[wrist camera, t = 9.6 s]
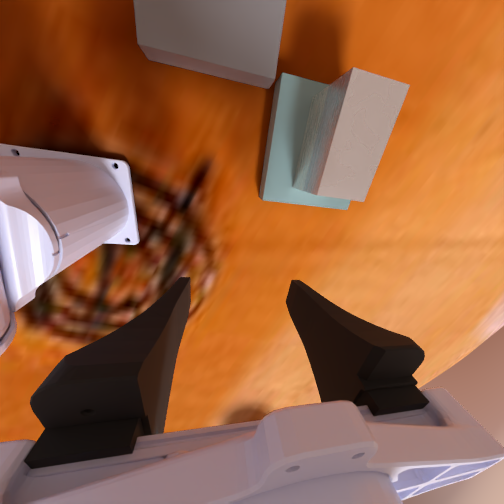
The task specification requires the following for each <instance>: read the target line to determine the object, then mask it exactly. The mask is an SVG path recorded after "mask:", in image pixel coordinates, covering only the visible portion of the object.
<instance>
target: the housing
mask: <svg viewBox="0 0 504 504" xmlns="http://www.w3.org/2000/svg"><path fill="white" fill-rule="evenodd" d="M409 86H410V85H408V84H405V83H402V82H398V81H395V80H392V79H389V78H386V77H383V76H379V75H376V74H373V73H370V72H367V71H364V70H360V69H357V68H354V67H353V68H352V69H350V70H349V71H348V72H346V73H345V74H344V75H342V76H341V77H340V78H338V79H337V80H336V81H334V82H333V83H331V84H330V85H329V86H327V87H326V88H325V89H323V90H322V91H321V92H319V93H318V94H317V95H315V96H314V97H313V98H312V103H311V107H310V111H309V116H308V120H307V125H306V129H305V134H304V138H303V142H302V147H301V151H300V156H299V160H298V165H297V169H296V174H295V178H294V182H293V187H292V188H295V189H298V190H302V191H305V192H308V193H311V194H314V195H319V196H326V197H333V198H340V199H347V200H354V201H361V202H364V200H365V197H366V195H367V192H368V190H369V187H370V185H371V182H372V180H373V177H374V175H375V172H376V170H377V167H378V165H379V162H380V160H381V157H382V155H383V152H384V149H385V147H386V144H387V142H388V139H389V137H390V134H391V132H392V129H393V127H394V124H395V122H396V119H397V117H398V114H399V112H400V109H401V107H402V104H403V101H404V99H405V96H406V94H407V91H408V89H409Z"/></svg>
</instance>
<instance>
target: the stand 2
mask: <svg viewBox="0 0 504 504" xmlns="http://www.w3.org/2000/svg"><path fill="white" fill-rule="evenodd" d="M327 86H329V85H328V84H324V83H320V82H316V81H313V80H309V79H305V78H302V77H298V76H294V75H290V74H287V73H283V72H282V74H281V75H280V77H279V78H278V80H277V81H276V83H275V89H274V96H273V103H272V110H271V117H270V124H269V130H268V137H267V144H266V151H265V158H264V165H263V172H262V179H261V186H260V192H259V198H261V199H262V200H265V201H274V202H283V203H291V204H300V205H309V206H317V207H326V208H335V209H344V210H347V209H348V206H349V204H350V201H351V200H347V199H340V198H333V197H326V196H319V195H314V194H311V193H308V192H305V191H302V190H298V189H295V188H292V187H293V182H294V178H295V174H296V169H297V165H298V160H299V156H300V151H301V147H302V142H303V138H304V134H305V129H306V125H307V120H308V116H309V111H310V107H311V103H312V98H313V97H314V96H315V95H317V94H318V93H319V92H321V91H322V90H323V89H325V88H326V87H327Z"/></svg>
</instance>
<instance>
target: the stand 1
mask: <svg viewBox="0 0 504 504" xmlns="http://www.w3.org/2000/svg"><path fill="white" fill-rule="evenodd" d="M133 1H134V11H135V21H136V32H137V42H138V45H139V46H140V48H141V49H142V51H143V52H144V54H145V55H146V57H147V58H148V60H151V61H155V62H160V63H164V64H168V65H172V66H176V67H180V68H184V69H188V70H192V71H196V72H200V73H204V74H208V75H213V76H217V77H221V78H225V79H229V80H233V81H237V82H241V83H245V84H249V85H253V86H257V87H262V88H266V89H269V88H270V87H271V85H272V83H273V82H274V80H275V76H276V69H277V62H278V55H279V48H280V41H281V34H282V27H283V21H284V14H285V7H286V0H133Z"/></svg>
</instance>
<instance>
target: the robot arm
mask: <svg viewBox="0 0 504 504" xmlns="http://www.w3.org/2000/svg"><path fill="white" fill-rule="evenodd" d="M16 150H17V151H18V152H19V154H20V155H18V154H17V153H16ZM114 163H117V164H118V169H116V168H115V167H114ZM126 238H129V239H130V241H128V240H127V239H126ZM139 240H140V239H139V232H138V225H137V218H136V211H135V203H134V196H133V189H132V182H131V175H130V167H129V165H128V163H127V162H125V161H122V160H115V159H108V158H101V157H94V156H86V155H79V154H72V153H65V152H58V151H50V150H43V149H36V148H29V147H22V146H14V145H7V144H0V355H1V354H2V353H3V352H4V351H5V350H6V349H7V347H8V346H9V345H10V343H11V342H12V340H13V338H14V336H15V333H16V328H17V323H16V319H15V315H14V313H13V312H15V311H17V310H18V309H20V308H21V307H22V306H24V305H25V304H27V303H28V302H29V301H31V300H32V299H34V298H35V291H36V289H37V288H38V287H39V286H40V285H41V284H42V283H44V282H45V281H47V280H48V279H50V278H51V277H53V276H54V275H56V274H58V273H59V272H61V271H62V270H64V269H65V268H67V267H68V266H70V265H71V264H73V263H74V262H76V261H77V260H79V259H80V258H82V257H83V256H85V255H86V254H88V253H89V252H91V251H92V250H94V249H95V248H97V247H98V246H100V245H101V244H103V243H111V244H129V245H136V244H137V243H139ZM190 302H191V298H190V277H180V278H179V279H178V280H177V281H176V282H175V284H174V285H173V286H172V287H171V288H170V289H169V290H168V291H167V292H166V293H165V294H164V295H163V296H162V297H161V298H160V299H158V300H157V301H156V302H155V303H154V304H153V305H152V306H150V307H149V308H148V309H147V310H146V311H144V312H143V313H142V314H140V315H139V316H138V317H136V318H135V319H133V320H131V321H130V322H128V323H127V324H125V325H124V326H122V327H121V328H119V329H117V330H116V331H114V332H112V333H110V334H108V335H107V336H105V337H103V338H101V339H99V340H97V341H95V342H93V343H91V344H89V345H87V346H85V347H83V348H81V349H79V350H77V351H75V352H72V353H70V354H68V355H66V356H65V357H64V358H63V359H62V360H61V361H60V362H59V363H58V365H57V366H56V367H55V368H54V369H53V370H52V372H51V373H50V374H49V375H48V377H47V378H46V379H45V380H44V382H43V383H42V384H41V385H40V387H39V388H38V389H37V390H36V391H35V393H34V394H33V395H32V396H31V400H30V405H31V408H32V410H33V412H34V413H35V415H36V416H37V418H38V419H39V420H40V422H41V423H42V425H43V426H44V427H45V430H44V431H43V433H42V434H41V436H40V437H39V439H38V440H37V442H36V441H33V440H16V441H8V442H0V504H403V502H402V501H401V500H404V499H407V498H410V497H413V496H416V495H419V494H421V493H424V492H427V491H430V490H433V489H436V488H439V487H442V486H446V485H449V484H452V483H455V482H459V481H462V480H466V479H470V478H472V477H473V476H475V475H477V474H479V473H480V472H482V471H484V470H486V469H487V468H489V467H491V466H492V465H494V464H496V463H498V462H499V461H501V460H503V459H504V447H503V446H502V445H501V444H500V443H499V442H498V441H497V440H496V439H495V438H494V437H493V436H492V435H491V434H490V433H489V432H488V431H487V430H486V429H485V428H484V427H483V426H482V425H481V424H480V423H479V422H478V421H477V420H476V419H475V418H474V417H473V416H472V415H471V414H470V413H469V412H468V411H467V410H466V409H465V408H464V407H463V406H462V405H461V404H460V403H459V402H458V401H457V400H456V399H454V397H453V396H452V395H451V394H450V393H449V392H448V391H447V390H446V389H445V388H443V387H436V388H428V389H424V390H422V391H420V390H419V389H418V388H417V387H416V386H415V385H416V384H417V381H416V380H415V378H414V377H413V376H412V374H413V373H414V372H415V371H416V370H417V368H418V367H419V366H420V365H421V363H422V362H423V360H424V357H425V355H424V351H423V350H422V349H421V348H420V347H419V346H418V345H417V344H416V343H415V342H414V341H413V340H412V339H410V338H409V337H406V336H403V335H400V334H397V333H394V332H391V331H389V330H386V329H383V328H381V327H378V326H376V325H374V324H371V323H369V322H367V321H365V320H362V319H360V318H358V317H356V316H354V315H352V314H350V313H349V312H347V311H345V310H343V309H341V308H340V307H338V306H336V305H335V304H333V303H332V302H330V301H329V300H327V299H326V298H324V297H323V296H321V295H320V294H319V293H317V292H316V291H314V290H313V289H312V288H310V287H309V286H307V285H306V284H305V283H303V282H302V281H300V280H292V281H291V284H290V288H289V292H288V296H287V299H286V304H287V308H288V311H289V314H290V316H291V318H292V321H293V323H294V325H295V327H296V329H297V331H298V334H299V336H300V338H301V340H302V342H303V345H304V347H305V350H306V353H307V356H308V358H309V361H310V364H311V368H312V371H313V374H314V377H315V380H316V384H317V387H318V391H319V394H320V398H321V402H322V403H315V404H307V405H299V406H292V407H285V408H282V409H278V410H274V411H273V412H271V413H269V414H267V415H266V416H264V417H263V419H262V420H256V421H249V422H242V423H235V424H228V425H220V426H213V427H206V428H199V429H191V430H184V431H177V432H170V433H163V432H164V426H165V420H166V414H167V408H168V402H169V396H170V390H171V385H172V379H173V374H174V369H175V363H176V358H177V353H178V349H179V346H180V342H181V339H182V336H183V332H184V329H185V325H186V322H187V318H188V314H189V308H190Z"/></svg>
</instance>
